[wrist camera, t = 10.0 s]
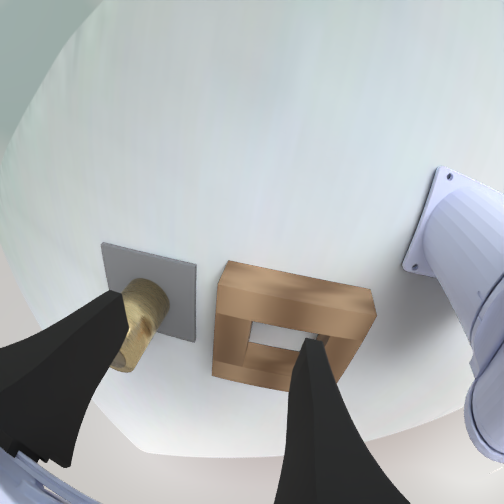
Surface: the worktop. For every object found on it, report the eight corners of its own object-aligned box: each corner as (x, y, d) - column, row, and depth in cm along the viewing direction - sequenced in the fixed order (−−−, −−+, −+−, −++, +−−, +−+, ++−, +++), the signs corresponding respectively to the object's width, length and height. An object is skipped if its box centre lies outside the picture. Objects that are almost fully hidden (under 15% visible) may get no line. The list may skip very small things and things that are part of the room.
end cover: (175, 293, 23) (136, 355, 17) (163, 324, 25) (130, 381, 19) (131, 269, 23) (84, 322, 17) (124, 302, 25) (85, 353, 19)
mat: (196, 264, 22) (194, 267, 21) (195, 339, 26) (194, 342, 26) (103, 242, 22) (100, 244, 22) (117, 315, 27) (115, 317, 27)
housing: (370, 289, 20) (377, 315, 18) (327, 372, 26) (327, 397, 23) (228, 260, 21) (217, 284, 18) (219, 352, 27) (211, 375, 24)
